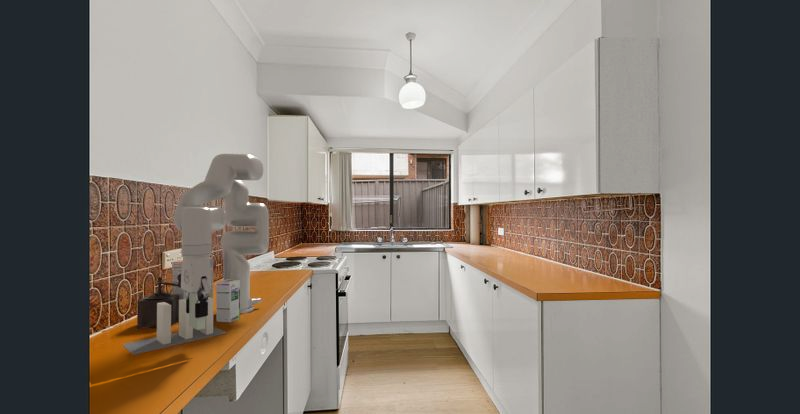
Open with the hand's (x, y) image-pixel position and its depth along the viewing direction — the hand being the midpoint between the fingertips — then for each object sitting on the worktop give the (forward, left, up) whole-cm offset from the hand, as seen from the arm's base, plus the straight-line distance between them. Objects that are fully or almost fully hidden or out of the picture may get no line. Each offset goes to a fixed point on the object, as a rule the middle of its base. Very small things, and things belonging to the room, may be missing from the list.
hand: (196, 313), depth 108 cm
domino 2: (-2, -14, -10) cm, 17 cm away
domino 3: (0, 0, -4) cm, 4 cm away
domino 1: (+4, -14, -10) cm, 17 cm away
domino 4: (-8, -14, -10) cm, 18 cm away
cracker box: (-14, -42, -10) cm, 45 cm away
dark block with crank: (-3, -35, -10) cm, 36 cm away
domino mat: (+1, -14, -10) cm, 17 cm away
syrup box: (-19, -23, -10) cm, 31 cm away
